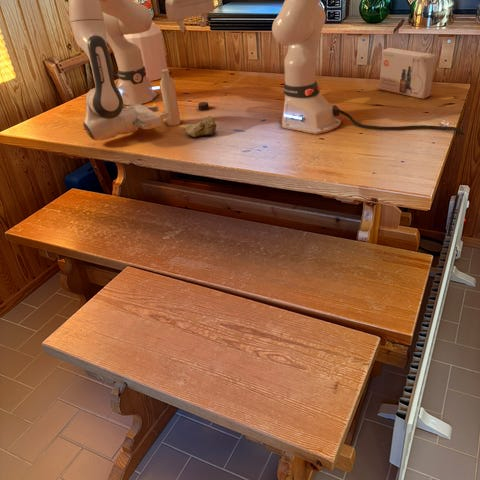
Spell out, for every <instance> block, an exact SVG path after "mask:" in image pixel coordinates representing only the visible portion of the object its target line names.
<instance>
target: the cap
mask: <svg viewBox="0 0 480 480" xmlns="http://www.w3.org/2000/svg"><path fill="white" fill-rule="evenodd" d="M209 107H210V106H209V102H207V101H201V102H198V110H199V111H208V110H209V109H210V108H209Z"/></svg>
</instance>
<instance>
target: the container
mask: <svg viewBox="0 0 480 480" xmlns="http://www.w3.org/2000/svg"><path fill="white" fill-rule="evenodd" d="M124 37H125V38H126V40H127V41H129V42H131V43H133V44H135V45H137V46H138V47H139V49H140V51H141V55H142V61H143V66H144V67H145V69H146V76H147V77H148V78H150V80H151V82H152V81H157V80H161V79H162V74H161V70H163V69H168V64H167V57H166V51H165V45H164V39H163V32H162V30H161V29H160V27H159V26H158V25H157V24H156V23H155V22H154V21H152V24H151V27H150V29H149V30H148V31H145V32H142V33H138V34H126V35H124Z"/></svg>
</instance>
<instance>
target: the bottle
mask: <svg viewBox="0 0 480 480" xmlns="http://www.w3.org/2000/svg"><path fill="white" fill-rule="evenodd" d="M161 74H162V78H161V79H160V81H159V87H160V93H161V99H162V103H163V109H164V112H168V113H169V117H167V118H165V120H166V125H167V126H170V127H173V126H179V125H180V124H181V122H182V121H181V117H180V116H181V115H180V110H179V104H178V97H177V91H176V85H175V81H174V79H173V78H172V77H171V75H170V70H169V68H167V69H163V70H161Z"/></svg>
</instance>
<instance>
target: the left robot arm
mask: <svg viewBox="0 0 480 480" xmlns="http://www.w3.org/2000/svg"><path fill="white" fill-rule="evenodd" d="M64 1H65V2H66V3H68V4H67V5H68V14H69V16H68V17H69V22H70V27H71V28H70V29H71V32H72V35H73V37H74V41H75V43H76V45H77V46H78V47H79V48H80V49H81V50H82V51H83V52H84V54H85V55H86V56H87V57H88V60H89V62H90V66H91V72H92V76H93V81H94V86H95V87H93V88H90V90H89V91H88V92H87V93H86V95H85V117H84V120H83V128H84V130H85V131H86V134H87V135H88V137H89V138H90V139H92V140H94V141H95V142H97V141H106V140H110V139H113V138H116V137H118V136H120V135H128V134H132V133H135V132H138V131H139V128H141V129H143V130H150V129H154V128H159V127H161V126H162V125H163V121H164V120H166V118H167V117H169V113H168V112H165V111H164V112H162V113H161V114H160V113H159V114H158V112H159V111H160V109H159V108H160V107H159V106H158V105H154V106H145V105H144V104H146V103H149V102H151V101H153V100H154V98H156V97H157V96H158V94H157V92H154V90H159V89H160V90H161V88H160V85H158V86H153V85H152V81H151V80H150V78H148V77H147V76H146V69H145V67H144V66H143V61H142V55H141V51H140V49H139V47H138V46H137V45H135V44H133V43H131V42H129V41H127V40H126V38H125V37H124V35H126V34H138V33H142V32H145V31H148V30H149V29H150V27H151V24H152V22H153V16H152V13H151V11H150V10H149V8H148V7H147V6H146V5H144V4H140V3H138V2H136V1H134V0H64ZM108 45H109V47H110V48H111V50H112V53H113V55H114V58H115V61H116V66H117V74H116V73H114V74H113V69H112V65H111V59H110V54H109V50H108V49H109V48H108ZM115 77H117V78H118V80H117V82H115V79H114V78H115Z"/></svg>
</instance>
